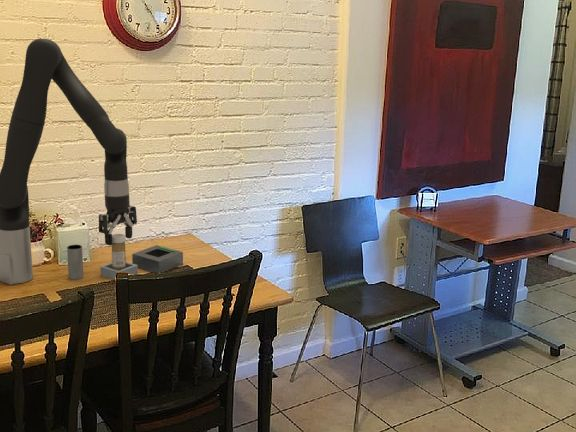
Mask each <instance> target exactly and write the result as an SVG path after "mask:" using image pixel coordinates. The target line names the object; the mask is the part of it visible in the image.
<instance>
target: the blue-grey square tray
mask: <svg viewBox="0 0 576 432" xmlns="http://www.w3.org/2000/svg"><path fill="white" fill-rule="evenodd" d="M99 268H100V269H99V270H100V271H99V272H100V276H101V277H105V278H108V279H111V280H114V281H116V280H115V277H116V273H118V272H126V273H128V274H136V275H138V274H139V268H138V265H136V264H132V263H131V262H129V261H126V268H125V269H122V270H120V271H118V270H115V269H113V267H112V262H110V263H109V262H108V263H107V264H104V265H100V266H99Z"/></svg>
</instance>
